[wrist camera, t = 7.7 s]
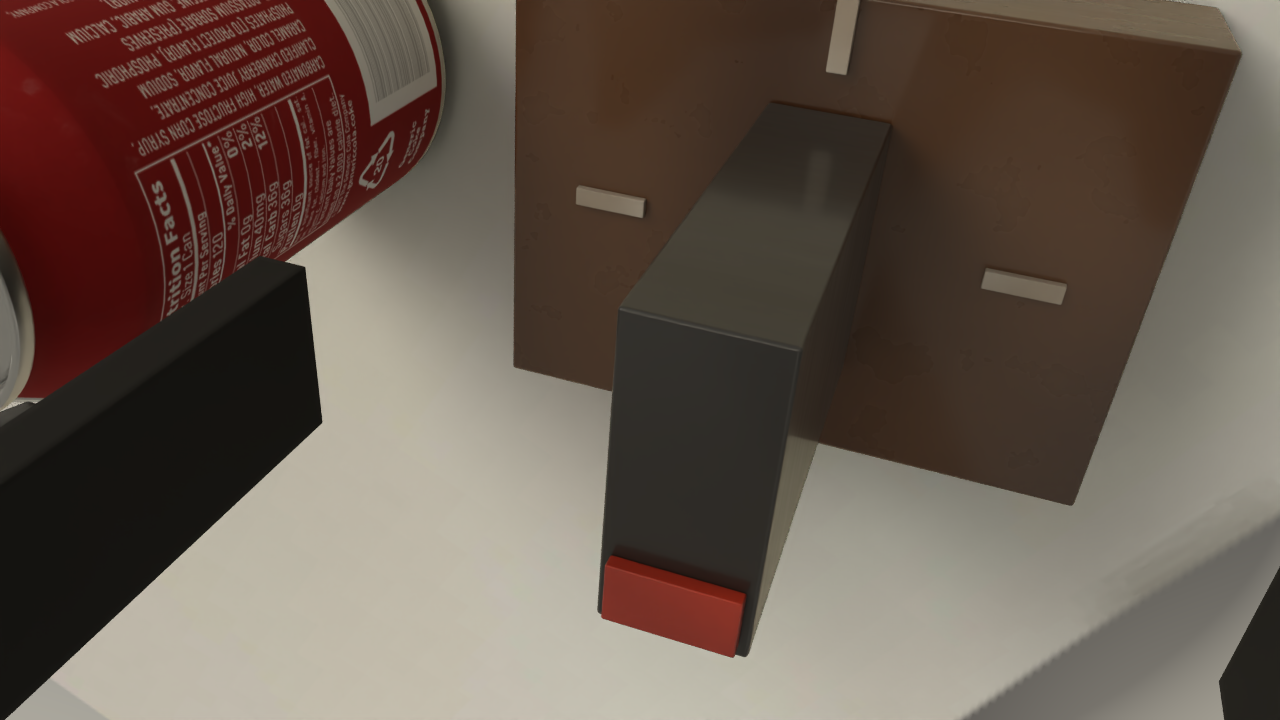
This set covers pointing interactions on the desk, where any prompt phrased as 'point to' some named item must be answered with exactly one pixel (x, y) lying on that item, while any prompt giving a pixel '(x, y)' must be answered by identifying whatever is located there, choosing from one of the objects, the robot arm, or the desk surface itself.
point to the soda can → (186, 153)
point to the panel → (887, 195)
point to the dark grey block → (734, 376)
